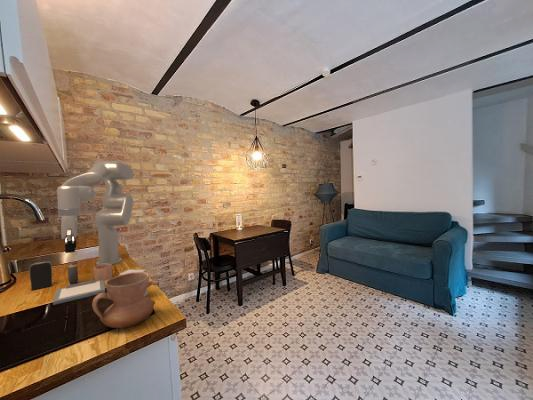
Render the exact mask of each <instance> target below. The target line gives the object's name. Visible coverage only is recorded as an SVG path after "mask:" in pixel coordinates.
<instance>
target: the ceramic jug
mask: <svg viewBox="0 0 533 400" xmlns="http://www.w3.org/2000/svg"><path fill="white" fill-rule="evenodd" d="M140 280H141V282H139V281H140ZM157 282H158V281H157V280H151V281H150V275H149V273H148V272H146V273H145V272H132V273H127V274H123V275H120V276H119V275H116V276H114V277H113V276H112V278H111V279H109V280H106V281H105V290H106V292H105V293H100V294H97V295H96V296H94V298H93V300H92V302H91V303H92V305H91V306H92V309H93V312H94V313H95V314H96V316H98V317H99V319H100V322H101V323H103V324H104V325H105V326H106V327H108V328H112V329H124V328H129V327H133V326H136V325H137V324H138V325H139V323H142V322H143V321H145V320H146V319H147V318H148V317H150V316H151V314H152V313H153V311H154V309H155V308H154V307H155V304H156V300H154V299H152V298H149V297H147V296H145V297H144V294H145V291H146V289H147V290H148V288H150V287H151V286H157ZM101 299H107V300H111V301H112V302H113V303H112V304H110V306H108V307H107V308H106V309H105V310H104V313H103V312H102V311H101V309H100V308H99V301H100V300H101Z"/></svg>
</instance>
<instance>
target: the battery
mask: <svg viewBox="0 0 533 400" xmlns="http://www.w3.org/2000/svg"><path fill="white" fill-rule="evenodd" d="M52 268H53V267H52V263H51V261H48V260H47V261H39V262H35V263H32V264H31V265H30V266H29V268H28V269H29V279H30V290H31V291H35V290H40V289H45V288H49V287H51V286H53V269H52Z"/></svg>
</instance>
